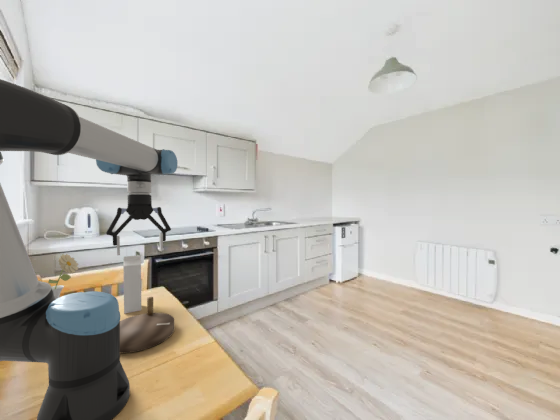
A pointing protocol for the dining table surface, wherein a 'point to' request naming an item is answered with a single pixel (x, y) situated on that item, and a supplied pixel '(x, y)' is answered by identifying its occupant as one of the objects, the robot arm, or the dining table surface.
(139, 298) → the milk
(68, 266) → the flower in vase
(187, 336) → the dining table surface
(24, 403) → the dining table surface
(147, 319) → the turntable
